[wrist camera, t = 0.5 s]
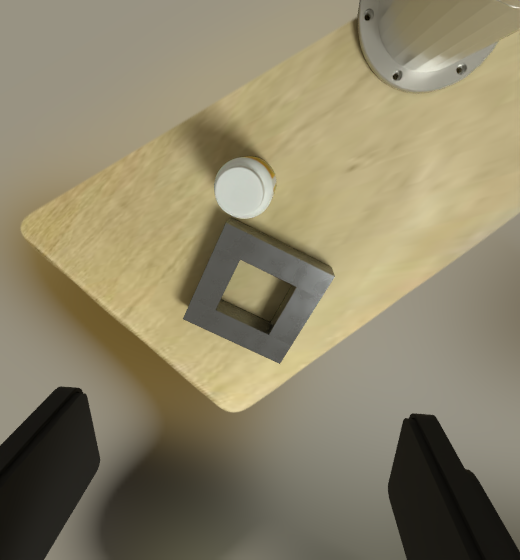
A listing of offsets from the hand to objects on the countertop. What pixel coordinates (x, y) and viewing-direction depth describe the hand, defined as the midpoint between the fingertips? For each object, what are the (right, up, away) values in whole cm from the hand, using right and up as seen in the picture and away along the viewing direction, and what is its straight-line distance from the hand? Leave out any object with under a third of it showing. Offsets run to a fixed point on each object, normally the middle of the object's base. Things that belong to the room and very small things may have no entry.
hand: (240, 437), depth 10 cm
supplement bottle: (0, +15, +26) cm, 30 cm away
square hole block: (0, +4, +31) cm, 31 cm away
